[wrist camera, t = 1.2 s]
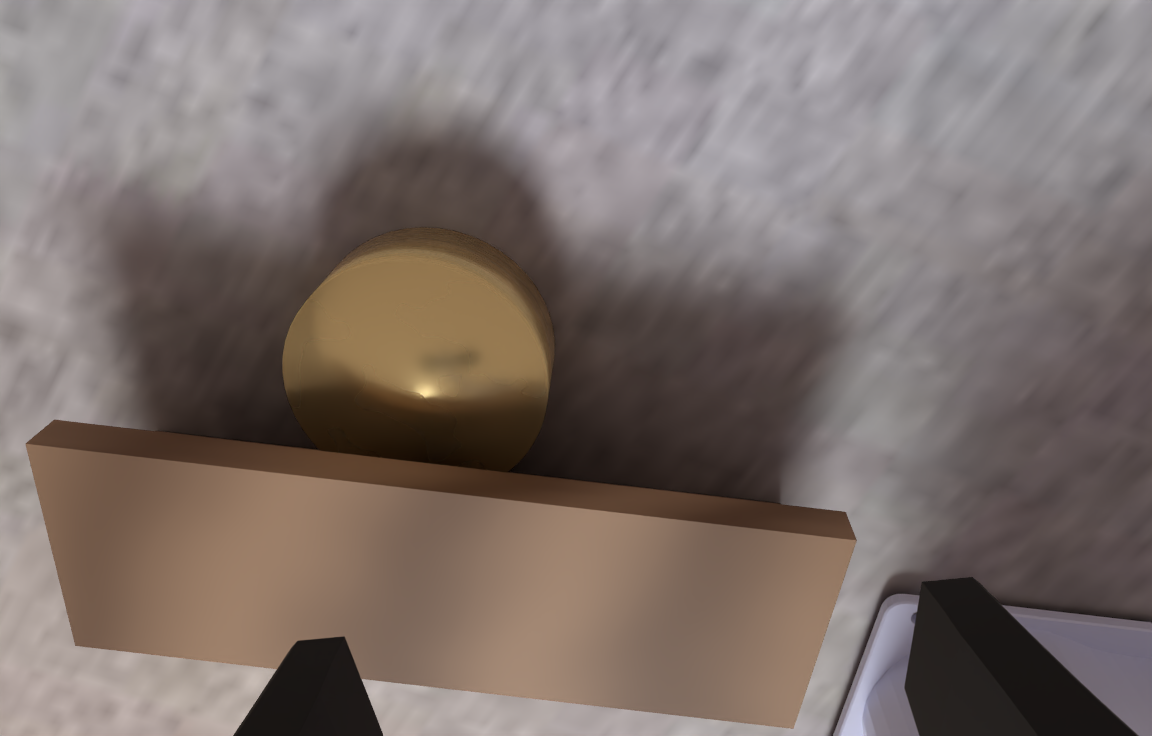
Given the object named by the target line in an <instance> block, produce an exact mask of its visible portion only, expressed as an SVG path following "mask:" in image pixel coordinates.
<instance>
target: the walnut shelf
mask: <svg viewBox="0 0 1152 736" xmlns="http://www.w3.org/2000/svg"><path fill="white" fill-rule="evenodd" d="M26 448H27V452H28V456H29V460H30V464H31V468H32V472H33V476H34V480H35V484H36V488H37V492H38V496H39V500H40V504H41V508H42V512H43V516H44V521H45V525H46V529H47V533H48V537H49V541H50V545H51V549H52V553H53V557H54V561H55V565H56V569H57V573H58V577H59V581H60V585H61V589H62V593H63V597H64V601H65V606H66V610H67V614H68V618H69V622H70V626H71V630H72V634H73V638H74V642H75V646H82V647H91V648H100V649H108V650H117V651H125V652H134V653H143V654H151V655H160V656H169V657H177V658H186V659H195V660H203V661H212V662H221V663H229V664H238V665H247V666H255V667H264V668H273V669H278V667H279V666H280V664H281V662H282V661H283V659H284V658H285V656H286V655H287V653H288V652H289V650H290V649H291V647H292V646H293V645H294V644H295V643H296V642H297V641H300V640H311V639H321V638H332V637H343V636H345V639H346V641H347V644H348V646H349V649H350V651H351V654H352V656H353V659H354V662H355V664H356V667H357V669H358V672H359V674H360V677H361V679H368V680H376V681H385V682H394V683H402V684H411V685H420V686H428V687H437V688H445V689H454V690H463V691H471V692H480V693H489V694H497V695H506V696H515V697H523V698H532V699H541V700H549V701H558V702H567V703H575V704H584V705H593V706H601V707H610V708H618V709H627V710H636V711H644V712H653V713H662V714H670V715H679V716H688V717H696V718H705V719H714V720H722V721H731V722H740V723H748V724H757V725H766V726H774V727H783V728H791V729H793V728H794V725H795V722H796V719H797V716H798V714H799V711H800V708H801V705H802V702H803V699H804V696H805V693H806V690H807V687H808V684H809V681H810V678H811V675H812V672H813V669H814V666H815V663H816V660H817V657H818V654H819V651H820V648H821V645H822V642H823V639H824V636H825V633H826V630H827V627H828V624H829V621H830V618H831V615H832V612H833V609H834V607H835V604H836V601H837V598H838V595H839V592H840V589H841V586H842V583H843V580H844V577H845V574H846V571H847V568H848V565H849V562H850V559H851V556H852V553H853V550H854V547H855V544H856V541H857V540H856V537H855V535H854V532H853V530H852V527H851V525H850V522H849V520H848V517H847V514H846V512H842V511H833V510H825V509H816V508H807V507H799V506H790V505H782V504H780V503H772V502H763V501H755V500H746V499H737V498H729V497H720V496H712V495H703V494H695V493H686V492H677V491H669V490H660V489H652V488H643V487H635V486H626V485H617V484H609V483H600V482H592V481H583V480H574V479H566V478H557V477H549V476H540V475H532V474H523V473H514V472H498V471H490V470H481V469H473V468H464V467H456V466H447V465H438V464H430V463H421V462H413V461H404V460H395V459H387V458H378V457H370V456H361V455H353V454H344V453H335V452H327V451H320V450H317V449H308V448H300V447H291V446H283V445H274V444H265V443H257V442H248V441H240V440H231V439H223V438H214V437H205V436H197V435H188V434H180V433H171V432H163V431H147V430H138V429H129V428H121V427H112V426H104V425H95V424H87V423H78V422H69V421H61V420H53V421H52V422H51V423H50V424H49V425H47V426H46V427H45V428H44V429H43V430H41V431H40V432H39V433H38V434H37V435H35V436H34V437H33V438H32V439H31V440H29V441H28V442H27V443H26Z"/></svg>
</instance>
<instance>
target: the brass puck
mask: <svg viewBox="0 0 1152 736" xmlns="http://www.w3.org/2000/svg"><path fill="white" fill-rule="evenodd" d="M554 357H555V339H554V330H553V325H552V322H551V318H550V314H549V312H548V309H547V307H546V304H545V302H544V300H543V298H542V296H541V294H540V293H539V291H538V289H537V288H536V286H535V285H534V283H533V282H532V281H531V280H530V278H529V277H528V276H527V274H526V273H525V272H524V271H523V270H522V269H521V268H520V267H519V266H518V265H517V264H516V263H515V262H514V261H512V260H511V259H510V258H509V257H507V256H506V255H505V254H504V253H502V252H501V251H499V250H498V249H496V248H494V247H493V246H491V245H489V244H488V243H486V242H483V241H481V240H479V239H477V238H475V237H472V236H469V235H466V234H463V233H460V232H457V231H452V230H446V229H441V228H427V227H419V228H406V229H401V230H396V231H391V232H388V233H385V234H382V235H380V236H377V237H374V238H372V239H371V240H369V241H367V242H365V243H363V244H361V245H360V246H358V247H357V248H356V249H354V250H353V251H352V252H350V253H349V254H348V255H347V256H346V257H345V258H344V259H343V260H342V261H341V262H340V263H339V264H338V265H337V266H336V267H335V269H334V270H333V271H332V272H331V273H330V274H329V275H328V277H327V278H326V279H325V280H324V281H323V282H322V283H321V284H320V286H319V287H318V288H317V289H316V290H315V291H314V292H313V294H312V295H311V296H310V297H309V298H308V299H307V300H306V302H305V303H304V304H303V306H302V307H301V308H300V310H299V311H298V312H297V314H296V316H295V318H294V320H293V322H292V324H291V326H290V328H289V331H288V334H287V337H286V340H285V344H284V350H283V357H282V373H283V380H284V387H285V391H286V394H287V398H288V401H289V404H290V406H291V408H292V411H293V413H294V415H295V417H296V419H297V421H298V422H299V424H300V426H301V427H302V429H303V431H304V432H305V433H306V435H307V436H308V437H309V439H310V440H311V441H312V442H313V444H314V445H315V446H316V447H317V448H318V449H319V450H320V451H327V452H335V453H344V454H353V455H361V456H370V457H378V458H387V459H395V460H404V461H413V462H421V463H430V464H438V465H447V466H456V467H464V468H473V469H481V470H490V471H498V472H508V471H509V470H510V469H512V468H513V467H514V466H515V465H516V464H517V463H518V462H519V461H520V460H521V459H522V458H523V457H524V456H525V455H526V453H527V452H528V451H529V449H530V448H531V447H532V445H533V443H534V442H535V440H536V438H537V436H538V434H539V432H540V429H541V426H542V424H543V421H544V418H545V412H546V407H547V401H548V395H549V388H550V382H551V376H552V370H553V363H554Z"/></svg>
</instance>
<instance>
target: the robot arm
mask: <svg viewBox="0 0 1152 736" xmlns="http://www.w3.org/2000/svg"><path fill="white" fill-rule="evenodd" d="M916 612H917V614H916V615H913V614H914V613H916ZM233 736H383V733H382V731H381V728H380V725H379V723H378V720H377V718H376V715H375V713H374V710H373V708H372V705H371V702H370V700H369V697H368V695H367V692H366V690H365V687H364V685H363V682H362V679H361V677H360V674H359V672H358V669H357V667H356V664H355V662H354V659H353V656H352V654H351V651H350V649H349V646H348V644H347V641H346V639H345V636H343V637H332V638H321V639H311V640H300V641H297V642H296V643H295V644H294V645H293V646H292V647H291V649H290V650H289V652H288V653H287V655H286V656H285V658H284V659H283V661H282V662H281V664H280V666H279V667H278V669H277V670H276V672H275V673H274V675H273V676H272V678H271V679H270V681H269V682H268V684H267V685H266V687H265V689H264V690H263V692H262V693H261V695H260V696H259V698H258V699H257V701H256V702H255V704H254V705H253V707H252V708H251V710H250V711H249V713H248V714H247V716H246V717H245V719H244V720H243V722H242V723H241V725H240V726H239V728H238V729H237V731H236V732H235V734H234V735H233ZM833 736H1152V622H1143V621H1134V620H1126V619H1117V618H1109V617H1100V616H1091V615H1083V614H1074V613H1066V612H1057V611H1048V610H1040V609H1031V608H1022V607H1014V606H1005V605H1001V604H1000V603H999V602H998V601H997V600H996V599H995V598H994V597H993V596H992V595H991V594H990V593H989V592H988V591H987V590H986V589H985V588H984V587H983V586H982V585H981V584H980V583H979V582H978V581H976V580H975V579H974V578H973V577H969V578H958V579H948V580H937V581H926V582H922V585H921V590H920V596H919V595H911V594H895V595H892V596H890V597H888V598H887V599H886V600H885V601H884V602H883V604H882V605H881V608H880V611H879V613H878V616H877V619H876V621H875V624H874V627H873V629H872V632H871V635H870V638H869V640H868V643H867V646H866V648H865V651H864V654H863V656H862V659H861V662H860V664H859V667H858V670H857V673H856V675H855V678H854V681H853V683H852V686H851V689H850V691H849V694H848V697H847V699H846V702H845V705H844V707H843V710H842V713H841V716H840V718H839V721H838V724H837V726H836V729H835V732H834V734H833Z"/></svg>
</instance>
